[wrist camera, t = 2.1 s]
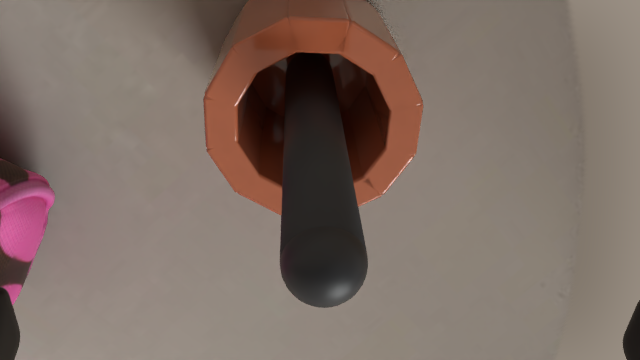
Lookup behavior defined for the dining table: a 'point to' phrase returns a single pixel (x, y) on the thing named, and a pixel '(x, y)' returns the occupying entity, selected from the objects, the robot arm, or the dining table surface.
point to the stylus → (318, 191)
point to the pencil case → (21, 223)
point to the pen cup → (269, 94)
